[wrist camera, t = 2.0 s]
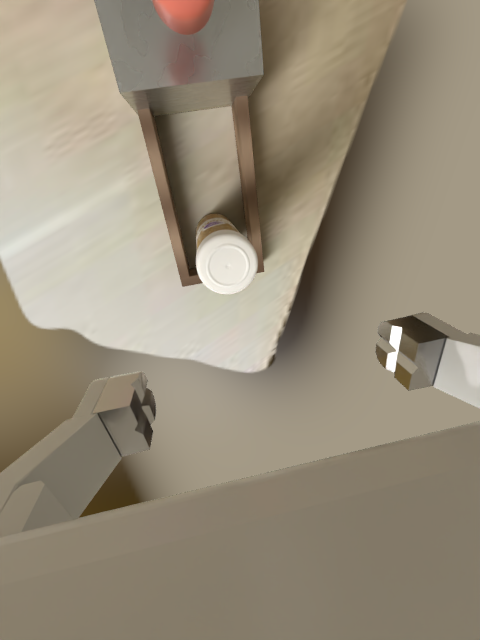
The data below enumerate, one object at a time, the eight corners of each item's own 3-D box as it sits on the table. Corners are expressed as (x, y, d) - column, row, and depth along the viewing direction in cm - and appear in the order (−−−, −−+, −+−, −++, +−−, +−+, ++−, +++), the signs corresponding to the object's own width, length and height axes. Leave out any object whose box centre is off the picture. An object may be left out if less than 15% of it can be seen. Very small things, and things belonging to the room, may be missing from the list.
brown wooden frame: (143, 117, 25) (137, 110, 22) (241, 104, 26) (247, 95, 23) (183, 278, 32) (182, 286, 30) (258, 264, 33) (264, 271, 31)
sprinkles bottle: (220, 204, 29) (238, 219, 18) (241, 239, 31) (270, 274, 20) (186, 228, 30) (182, 258, 18) (209, 261, 32) (219, 307, 20)
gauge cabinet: (121, 45, 22) (89, -17, 15) (239, 32, 23) (259, -33, 16) (140, 118, 25) (119, 92, 18) (246, 103, 26) (266, 74, 19)
